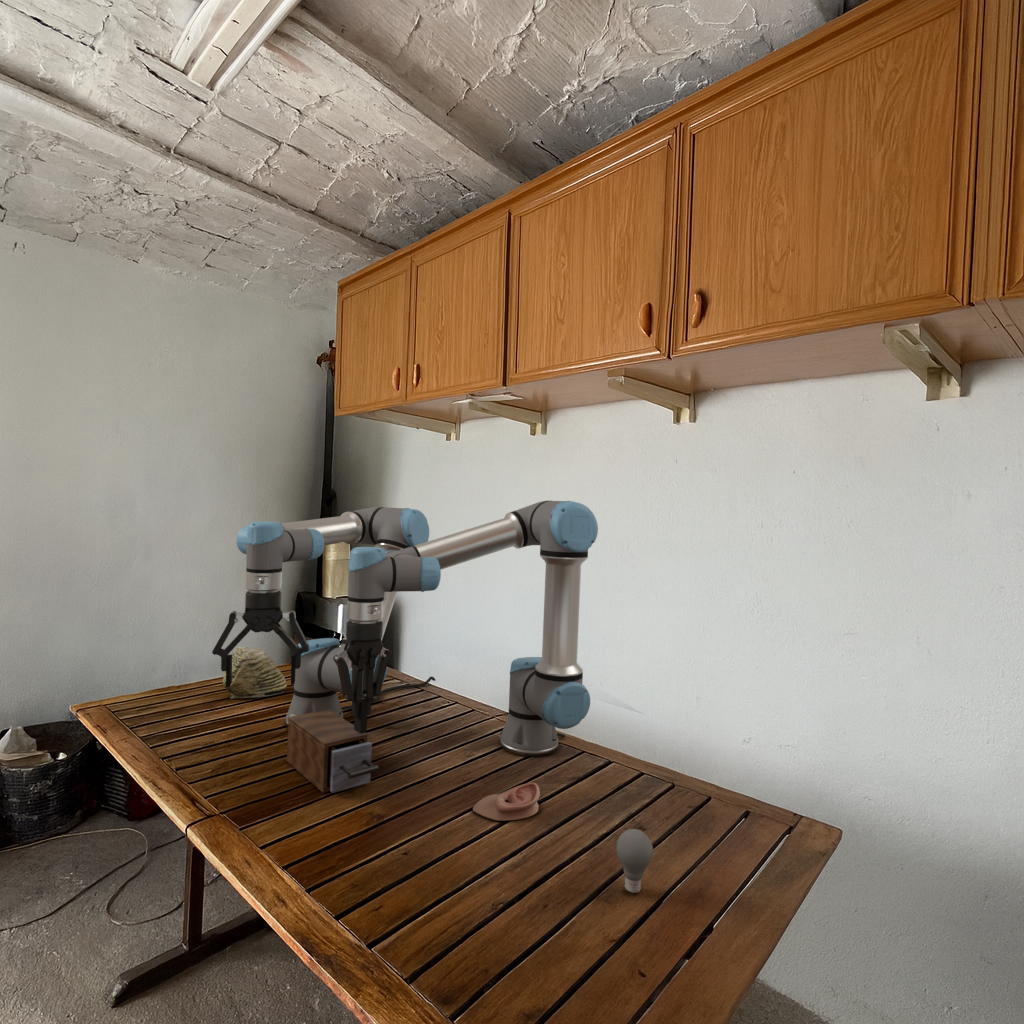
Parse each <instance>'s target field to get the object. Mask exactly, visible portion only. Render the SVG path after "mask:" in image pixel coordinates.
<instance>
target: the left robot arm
mask: <svg viewBox="0 0 1024 1024" xmlns="http://www.w3.org/2000/svg"><path fill="white" fill-rule="evenodd" d="M429 538H430V526H429V522H428V518H427V517H426V515H425V514H424V513H423V512H422V511H421V510H418V509H415V508H410V507H388V506H387V507H385V506H373V507H368V508H367V507H366V508H362V509H356V510H351V511H345V512H343V513H341V515H340V516H332V517H323V518H315V519H307V520H299V521H298V520H297V521H291V522H283V523H282V522H279V521H252V522H249V524H248V525H245V526H244V527H242V528H241V529H240V530H239V531H238V533H237V535H236V547H237V549H238V550H239V552H241V553H242V554H243V555H246V558H245V560H246V565H245V566H246V567H245V568H246V569H245V570H246V571H245V589H246V590H247V591H246V592H245V597H244V599H245V601H244V612H237V611H236V610H233V611H231V613H229V616H228V623H227V624H226V626H225V628H224V630H223V631H222V634H221V635H220V637H219V638H218V640H217V642H216V644H215V646H214V648H213V649H212V651H211V653H212V654H213V655H214V656H219V657H220V670H221V672H225V671H226V687H230V685H231V683H232V654H230V653H231V652H233V651H234V648H235V647H236V646H237V645H238V644H239V643H240V642H241V641H242V640H243V639H245V637H246V636H247V635H248V634H249V632H250V631H252V632H254V633H261V632H262V633H271V632H274V633H275V634H276V635H278V637H279V638H280V639H281V640H282V641H283V642H284V644H286V645H287V647H288V648H289V649H290V650H291V652H292V654H291V662H290V663H291V664H290V665H291V666H290V685H293V695H292V696H293V697H292V699H291V702H290V704H289V708H288V711H287V713H286V715H285V726H286V728H288V718H289V717H292V716H297V715H302V714H307V713H312V712H317V711H322V710H327V709H329V710H330V711H332V712H334V713H335V714H337V715H338V716H340V717H341V718H343V719H344V714H343V711H345V710H352V704H350V705H343V706H341V702H340V699H339V695H338V693H340V694H343V692H342V687H341V682H340V677H339V672H338V666H337V665H336V663H335V661H334V660H333V657H334V656H335V655H340V654H341V653H342V652H343V651H344V647H345V645H346V636H344V637H343V638H342V640H341V643H340V640H339V639H338V638H335V637H324V638H323V637H322V638H313V639H308V640H307V638H306V636H305V634H304V632H303V630H302V629H301V627H300V625H299V623H298V621H297V616H296V610H293V609H292V610H290V611H285V612H283V610H282V591H281V589H282V583H283V582H282V581H283V563H289V562H298V561H299V562H301V561H307V562H308V561H310V560H315V559H316V560H317V559H318V558H319V557H321V555H323V553H324V550H325V546H331V545H336V544H342V543H345V544H346V545H356V544H359V545H360V544H362V545H369V546H370V545H371V546H374V547H379V548H384V549H385V551H386V552H387V551H390V550H402V549H405V548H408V547H412V546H415V545H418V544H421V543H425V542H428V541H429ZM397 594H398V591H397V592H384V603H383V618H382V619H381V621H382V622H383V633H382V638H381V641H382V642H383V638H384V635H385V632H386V629H387V626H388V622H389V619H390V617H391V613H392V610H393V607H394V604H395V601H396V597H397ZM241 619H242V620H243V621H244V623H245V624H246V625H245V626H244V627H243V629H242V630H241V631H240V632H239V633H238V634H237V635H236V636H235V637H234V638H233V639H232V641H231V642H230V643H229V644H228V645H227V646H226V647H225V648H222V647H223V646H224V644H225V642H226V640H227V639H228V637H229V635H230V634H231V632H232V630H233V628H234V627H235V624H236V623H239V622H240V620H241ZM282 619H285V621H286V622H289V625H290V627H291V629H292V631H293V633H294V635H295V637H296V639H297V641H298V643H296V641H295V640H294V639H293V638H292V637H291V635H290V634H289V633H288V632H287V631H286V630H285V629H284V627H283V626H282V625H281V624H280V622H281V621H282ZM378 657H379V655H378V656H377V658H376V660H375V668H376V664H377V660H378ZM347 660H348V662H347V663H346V664H347V666H348V669H349V674H350V680H351V685H352V667H351V661H350V659H349V658H348V656H347ZM375 668H374V672H375ZM387 674H388V667H387V668H386V672H385V676H384V680H383V683H384V682H385V680H386V677H387ZM431 681H434V682H436V678H435V676H429V677H428V678H427V679H426V680H425V681H423V682H420V683H413V684H412V683H411V684H400V685H396V686H391V687H386V688H384V689H381V692H380V695H379V696H375V697H373V698H374V701H372V702H371V704H372V703H375V702H377V701H378V700H379V698H380V696H381V695H383V694H384V693H388V692H391V691H395V690H401V689H407V688H408V689H409V688H419V687H424V686H426V685H428V684H429V683H430V682H431ZM362 686H363V678H362Z"/></svg>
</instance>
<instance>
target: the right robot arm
mask: <svg viewBox="0 0 1024 1024" xmlns="http://www.w3.org/2000/svg"><path fill="white" fill-rule="evenodd" d="M598 533H599V525H598V521H597V518H596V515H595V514H594V512H593V511H592V510H591V509H590V508H589V507H588V506H586V505H585V504H583V503H581V502H577V501H573V500H542V501H538V502H535V503H532V504H530V505H527V506H524V507H521V508H519V509H516V510H513V511H510V512H506V514H505V515H504V517H503V518H499V519H496V520H494V521H490V522H487V523H484V524H480V525H478V526H474V527H471V528H468V529H467V528H466V529H464V530H461V531H458V532H457V531H456V532H455V533H451V534H447V535H444V536H441V537H438V538H434V539H431V540H428V542H425V543H421V544H418V545H415V546H412V547H408V548H405V549H402V550H390V551H387V552H386V551H385V549H384V548H379V547H375V546H356V547H353V548H352V549H351V550H350V552H349V560H348V561H349V562H348V568H347V571H348V573H347V575H348V576H347V602H346V619H347V622H346V624H345V625H346V627H345V637H346V645H345V647H344V651H343V652H342V653H341V654H340V655H335V656H334V657H333V660H334V661H335V663H336V665H337V666H338V672H339V677H340V682H341V687H342V692H343V693H342V697H343V698H344V699H345V700H347V701H349V702H351V705H352V709H351V716H352V718H353V717H354V724H353V725H354V730H355V731H357V732H359V733H360V734H361V733H368V716H370V715H371V713H372V703H371V702H372V701H374V698H375V697H376V696H379V695H380V692H381V691H382V687H383V684H384V682H383V680H384V676H385V672H386V668H387V669H388V663H389V660H390V659H391V657H392V655H393V651H392V650H390V649H387V648H386V647H384V643H383V640H382V641H381V638H382V633H383V622H382V621H381V619H382V618H383V603H384V592H397V593H398V592H421V593H425V592H432V591H433V592H434V591H435V590H437V589H438V588H439V586H440V583H441V576H442V574H441V573H442V570H445V569H447V568H450V567H454V566H457V565H461V564H463V563H466V562H469V561H472V560H475V559H479V558H481V557H484V556H489V555H491V554H494V553H496V552H500V551H503V550H506V549H509V548H515V549H517V550H518V549H523V548H525V547H531V546H539V557H540V558H541V559H542V560H543V561H544V563H545V576H544V597H543V598H544V599H543V602H544V603H543V620H542V623H543V624H542V646H541V647H542V648H541V649H542V650H541V656H525V657H518V658H515V659H513V660H512V661H511V663H510V669H509V689H508V692H509V693H508V715H507V718H506V721H505V724H504V726H503V729H502V730H501V732H500V734H499V736H500V739H499V740H500V742H499V744H500V747H501V748H502V749H503V750H505V751H506V752H509V753H510V754H514V755H518V756H523V757H542V756H547V755H551V754H554V753H555V752H556V751H557V750H558V749H559V737H560V738H566V734H563V733H560V732H557V729H560V730H568V729H571V728H573V727H576V726H577V725H579V724H580V723H581V721H582V720H584V719H585V718H586V717H587V715H588V712H589V710H590V707H591V694H590V692H589V689H587V687H586V686H585V685H584V684H583V678H584V674H583V673H584V669H583V668H582V667H581V665H580V664H579V663H578V651H579V650H578V648H579V647H578V646H579V624H580V601H581V599H580V598H581V577H582V565H583V564H584V563H585V561H587V559H588V558H589V549H590V548H591V547H592V546H593V544H594V543H595V542H596V540H597V537H598V535H599V534H598ZM382 639H383V638H382ZM378 655H379V657H378V660H377V664H376V668H375V660H376V658H377V656H378ZM347 656H348V658H349V659H350V661H351V667H352V685H351V680H350V674H349V669H348V666H347V664H346V663H347V662H348V660H347ZM374 668H375V672H374ZM362 678H363V686H362ZM384 681H385V680H384ZM380 696H381V695H380ZM380 696H379V697H380ZM556 728H557V729H556Z"/></svg>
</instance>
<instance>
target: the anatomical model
mask: <svg viewBox="0 0 1024 1024" xmlns="http://www.w3.org/2000/svg"><path fill="white" fill-rule="evenodd" d="M540 791H541V790H540V787H539V785H538V784H537V783H535V782H527V783H523V784H520V785H517V786H515V787H512V788H510V789H508V790H506V791H503V792H499V793H496V794H490V795H486V796H485V797H483V798H481V799H480V800H478V801H477V802H476V803H475V804H474V805H473V807H472V811H473V812H474V813H475V814H478V815H480V816H482V817H484V818H487V819H490V820H493V821H499V822H504V821H505V822H507V821H516V820H521V819H526V818H529V817H532V816H534V815H536V814H537V813H538V811H539V803H538V801H539V799H540V796H541V792H540Z"/></svg>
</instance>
